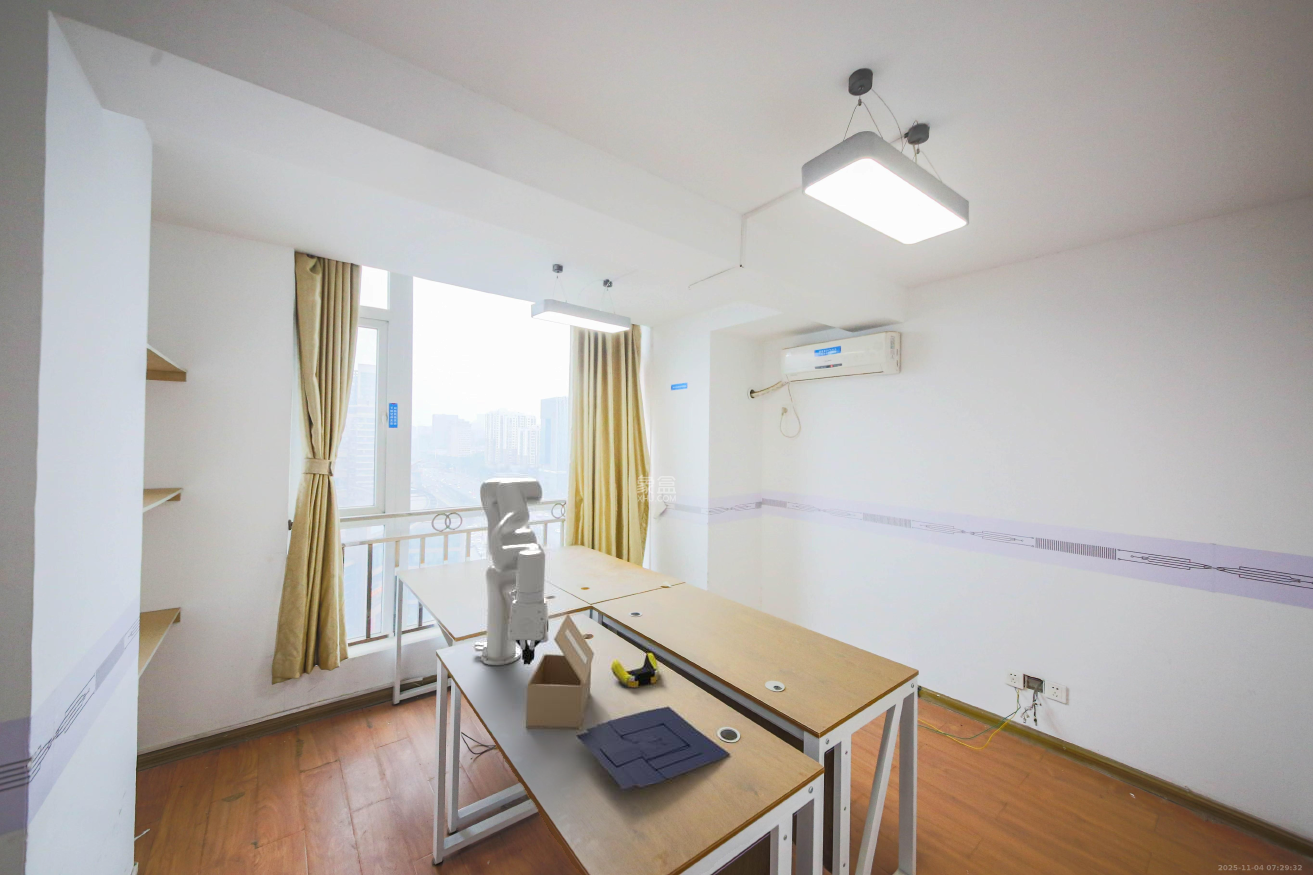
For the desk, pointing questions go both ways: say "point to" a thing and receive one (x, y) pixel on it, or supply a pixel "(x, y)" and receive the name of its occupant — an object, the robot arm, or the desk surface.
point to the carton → (556, 695)
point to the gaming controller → (637, 672)
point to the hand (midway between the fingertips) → (528, 662)
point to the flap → (574, 648)
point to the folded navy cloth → (649, 747)
